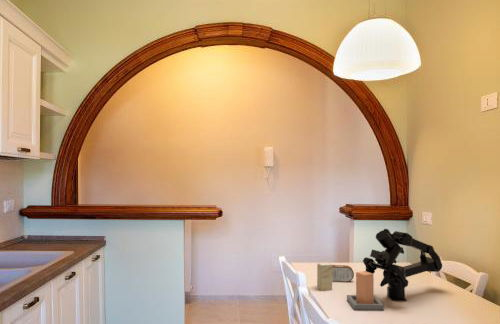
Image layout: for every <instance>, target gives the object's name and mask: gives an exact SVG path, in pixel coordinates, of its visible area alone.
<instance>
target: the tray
mask: <svg viewBox="0 0 500 324" xmlns="http://www.w3.org/2000/svg"><path fill="white" fill-rule="evenodd" d="M346 301H347V302H348V303H350V304H349V305H350V306H351V308H352V307H353V308H352V309H353V310H354V311H371V312H373V311H374V312H375V311H376V312H377V311H378V312H379V311H380V312H381V311H383V312H384V310H385V305H384V303H382V302H381V301H380V300H379V298H377V297H376V296H375V295H374V304H358V303H356V294H347V295H346Z"/></svg>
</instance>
